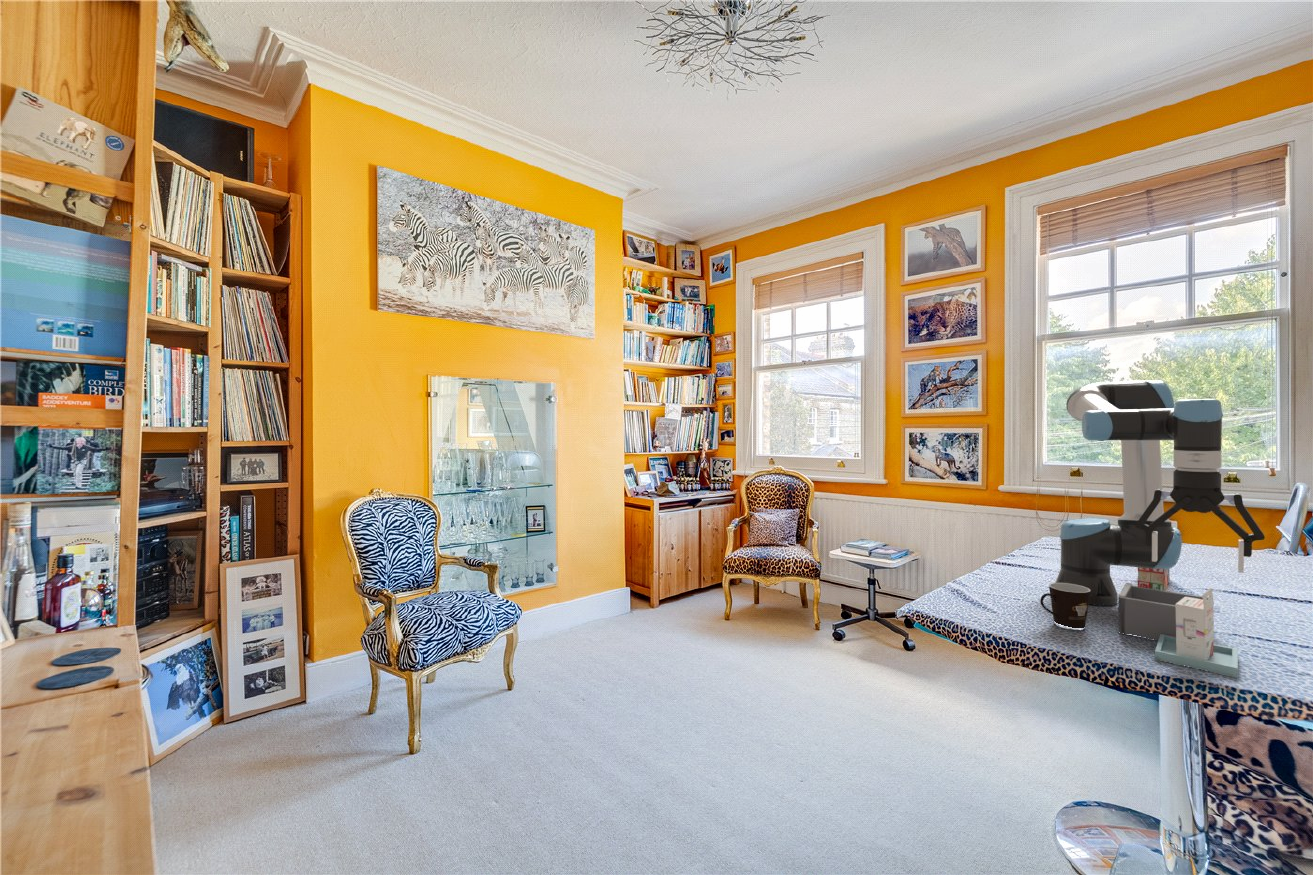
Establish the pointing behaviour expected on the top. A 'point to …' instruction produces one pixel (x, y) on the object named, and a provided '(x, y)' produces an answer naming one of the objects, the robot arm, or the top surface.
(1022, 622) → the top surface
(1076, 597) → the coffee mug
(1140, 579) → the stack of blocks
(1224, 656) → the tray
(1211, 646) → the ink cartridge box
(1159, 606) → the bay
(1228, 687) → the top surface
